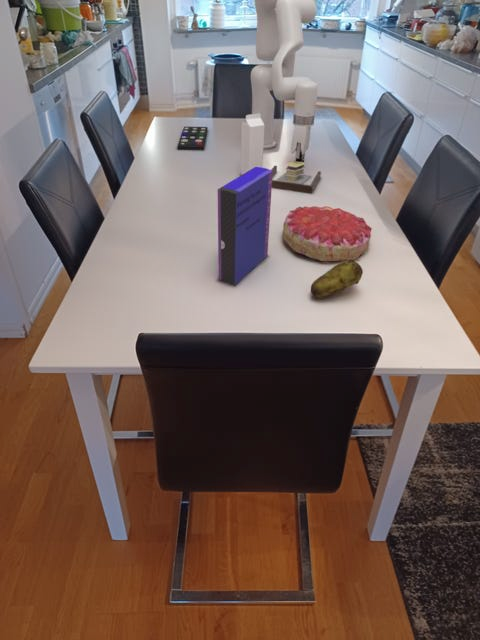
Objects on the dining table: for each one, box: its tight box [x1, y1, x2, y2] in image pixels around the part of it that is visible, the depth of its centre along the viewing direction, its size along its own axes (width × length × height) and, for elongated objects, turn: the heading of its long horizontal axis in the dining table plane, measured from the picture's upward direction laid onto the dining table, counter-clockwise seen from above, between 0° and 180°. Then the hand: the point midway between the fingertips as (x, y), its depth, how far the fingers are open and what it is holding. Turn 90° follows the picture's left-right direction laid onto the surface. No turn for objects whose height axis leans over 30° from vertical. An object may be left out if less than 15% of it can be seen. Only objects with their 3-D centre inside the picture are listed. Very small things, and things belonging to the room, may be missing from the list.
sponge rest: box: [270, 165, 322, 194], centre depth 170 cm, size 16×18×2 cm
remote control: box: [177, 126, 209, 151], centre depth 210 cm, size 11×30×2 cm, turn 0°
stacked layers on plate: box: [277, 160, 311, 184], centre depth 172 cm, size 10×9×6 cm
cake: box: [281, 205, 373, 262], centre depth 132 cm, size 25×25×8 cm
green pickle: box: [310, 260, 364, 299], centre depth 111 cm, size 8×13×8 cm, turn 96°
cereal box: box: [217, 167, 273, 286], centre depth 115 cm, size 17×5×24 cm, turn 150°
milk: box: [240, 113, 264, 176], centre depth 168 cm, size 6×6×22 cm
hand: (298, 170), depth 177 cm, fingers closed
